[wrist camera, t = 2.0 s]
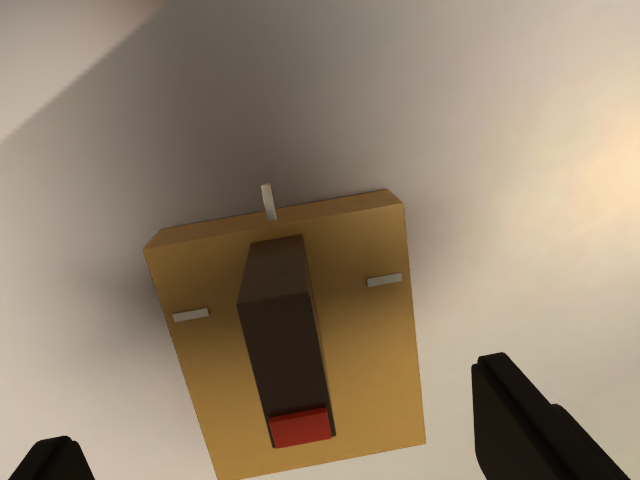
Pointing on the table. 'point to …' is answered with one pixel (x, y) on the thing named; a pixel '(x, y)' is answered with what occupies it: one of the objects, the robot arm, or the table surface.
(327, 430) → the lock knob
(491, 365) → the robot arm
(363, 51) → the table surface
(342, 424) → the plate
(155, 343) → the table surface
